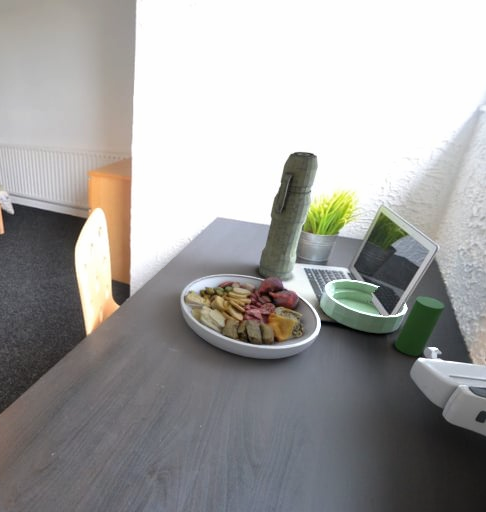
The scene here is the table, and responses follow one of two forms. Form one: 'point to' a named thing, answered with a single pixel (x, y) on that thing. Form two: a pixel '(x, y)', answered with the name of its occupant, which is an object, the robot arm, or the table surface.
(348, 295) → the bowl
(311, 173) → the thermos
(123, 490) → the table surface
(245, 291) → the bowl
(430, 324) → the green cylinder
